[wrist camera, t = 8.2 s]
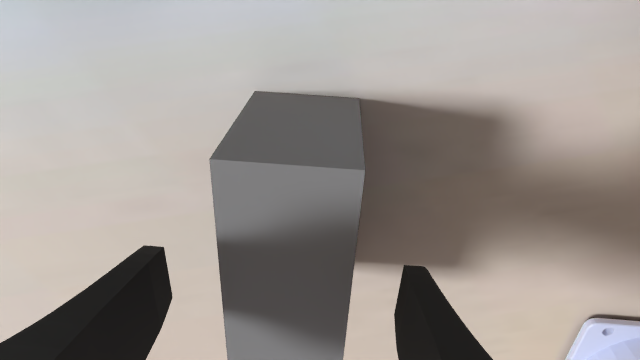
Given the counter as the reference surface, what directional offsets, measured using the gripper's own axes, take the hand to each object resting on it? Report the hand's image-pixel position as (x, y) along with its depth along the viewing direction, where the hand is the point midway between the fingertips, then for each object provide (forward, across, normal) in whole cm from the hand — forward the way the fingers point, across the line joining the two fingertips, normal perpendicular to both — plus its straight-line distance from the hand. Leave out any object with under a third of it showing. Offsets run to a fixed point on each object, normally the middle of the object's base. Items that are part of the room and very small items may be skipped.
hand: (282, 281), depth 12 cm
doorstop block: (+6, 0, 0) cm, 6 cm away
